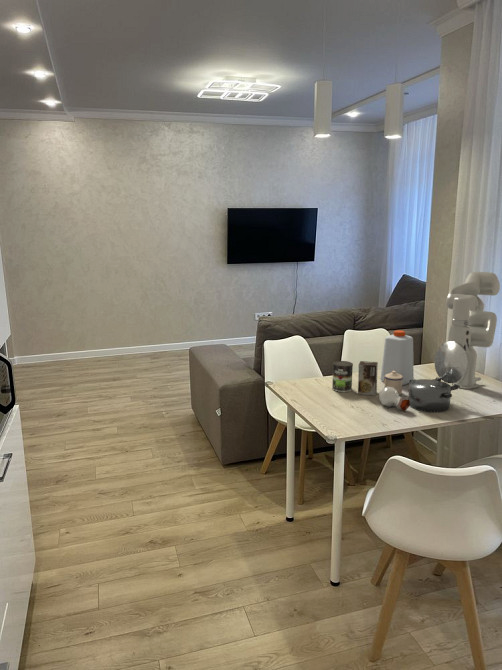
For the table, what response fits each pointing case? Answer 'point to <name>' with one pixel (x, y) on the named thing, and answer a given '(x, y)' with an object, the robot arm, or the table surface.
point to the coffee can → (342, 376)
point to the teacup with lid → (394, 381)
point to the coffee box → (367, 378)
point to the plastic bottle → (398, 356)
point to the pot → (430, 395)
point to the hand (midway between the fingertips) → (457, 360)
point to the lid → (451, 362)
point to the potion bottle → (393, 398)
